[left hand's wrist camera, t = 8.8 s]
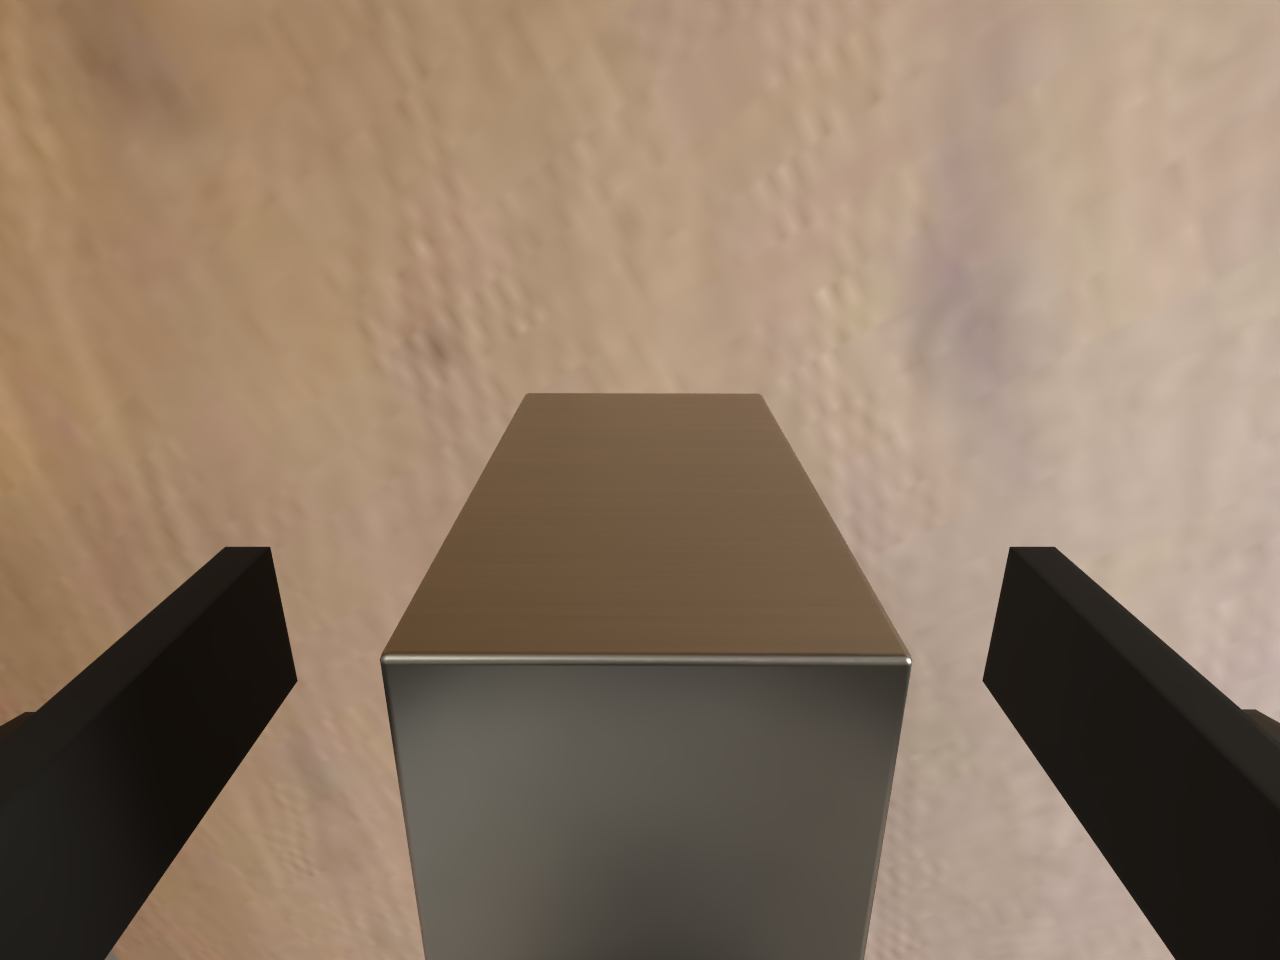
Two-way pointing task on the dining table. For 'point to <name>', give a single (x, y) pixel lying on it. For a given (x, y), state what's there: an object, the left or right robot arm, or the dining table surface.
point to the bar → (645, 697)
